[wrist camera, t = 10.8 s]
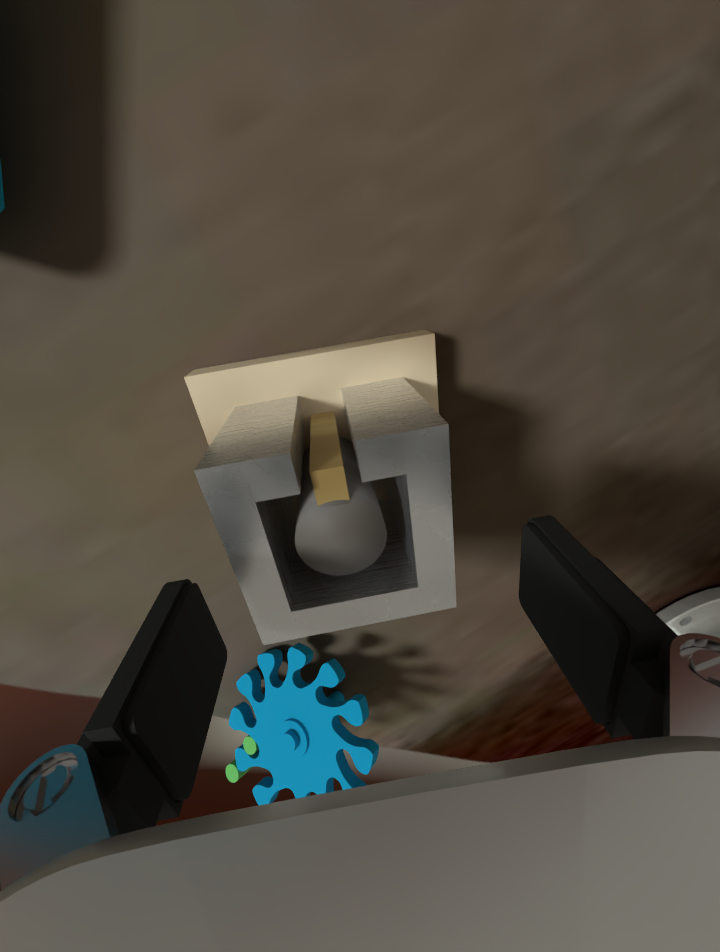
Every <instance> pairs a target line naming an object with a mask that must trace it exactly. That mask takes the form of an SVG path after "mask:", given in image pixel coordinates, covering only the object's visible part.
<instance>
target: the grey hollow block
mask: <svg viewBox="0 0 720 952" xmlns="http://www.w3.org/2000/svg"><path fill="white" fill-rule="evenodd" d="M341 392H342V397H343V403H344V409H345V415H346V420H347V424H348V428H349V432H350V436H351V440H352V444H353V448H354V452H355V456H356V460H357V464H358V468H359V472H360V476H361V480H362V482H368V481H373V480H379V479H384V478H385V484H386V491H387V499H386V500H380V501H378V503H379V506H380V509H381V513H382V516H383V519H384V522H385V526H386V530H387V541H386V545H385V548H384V550H383V552H382V553H381V555H380V556H379V558H378V559H377V560H376V561H375V562H374V563H373V564H371V565H370V566H369V567H367V568H365V569H363V570H361V571H359V572H356V573H353V574H349V575H328V574H324V573H321V572H318V571H316V570H314V569H312V568H311V567H309V566H308V565H307V564H306V563H305V562H304V561H303V560H302V559H301V558H300V556H299V554H298V552H297V550H296V546H295V529H296V516H297V512H296V508H295V504H294V501H293V497H292V495H298V494H300V491H301V475H302V459H303V443H304V427H305V425H304V420H303V416H302V412H301V407H300V403H299V399H298V396H293V397H288V398H282V399H276V400H271V401H265V402H259V403H254V404H248V405H243V406H237V407H235V408H234V409H233V411H232V412H231V414H230V415H229V417H228V419H227V420H226V422H225V423H224V425H223V426H222V428H221V429H220V431H219V432H218V434H217V436H216V437H215V439H214V440H213V442H212V443H211V445H210V446H209V448H208V449H207V451H206V452H205V454H204V456H203V457H202V459H201V460H200V462H199V463H198V465H197V466H196V468H195V469H194V472H195V475H196V477H197V480H198V482H199V485H200V487H201V490H202V492H203V495H204V497H205V500H206V502H207V505H208V507H209V510H210V512H211V515H212V517H213V520H214V522H215V525H216V527H217V530H218V532H219V535H220V537H221V540H222V542H223V545H224V547H225V550H226V553H227V555H228V558H229V560H230V563H231V565H232V568H233V570H234V573H235V575H236V578H237V580H238V583H239V585H240V588H241V590H242V593H243V595H244V598H245V600H246V603H247V605H248V608H249V610H250V613H251V615H252V618H253V620H254V623H255V625H256V628H257V630H258V633H259V635H260V638H261V641H262V643H263V645H267V644H272V643H277V642H282V641H287V640H292V639H297V638H302V637H307V636H312V635H317V634H322V633H327V632H332V631H337V630H343V629H348V628H353V627H358V626H363V625H368V624H373V623H378V622H383V621H388V620H393V619H398V618H403V617H408V616H413V615H419V614H424V613H429V612H434V611H439V610H444V609H449V608H454V607H456V586H455V563H454V539H453V516H452V493H451V469H450V446H449V424H448V423H447V422H446V421H445V420H444V419H443V418H442V417H441V416H440V415H439V414H438V413H437V412H436V411H435V410H434V409H433V408H432V407H431V406H430V405H429V404H428V403H427V401H426V400H425V399H424V398H423V397H422V396H421V395H420V394H419V393H418V392H417V391H416V390H415V389H414V388H413V387H412V386H411V385H410V384H409V383H408V382H407V381H406V380H405V379H404V378H403V377H400V378H394V379H389V380H383V381H377V382H372V383H366V384H361V385H355V386H349V387H344V388H341Z"/></svg>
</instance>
